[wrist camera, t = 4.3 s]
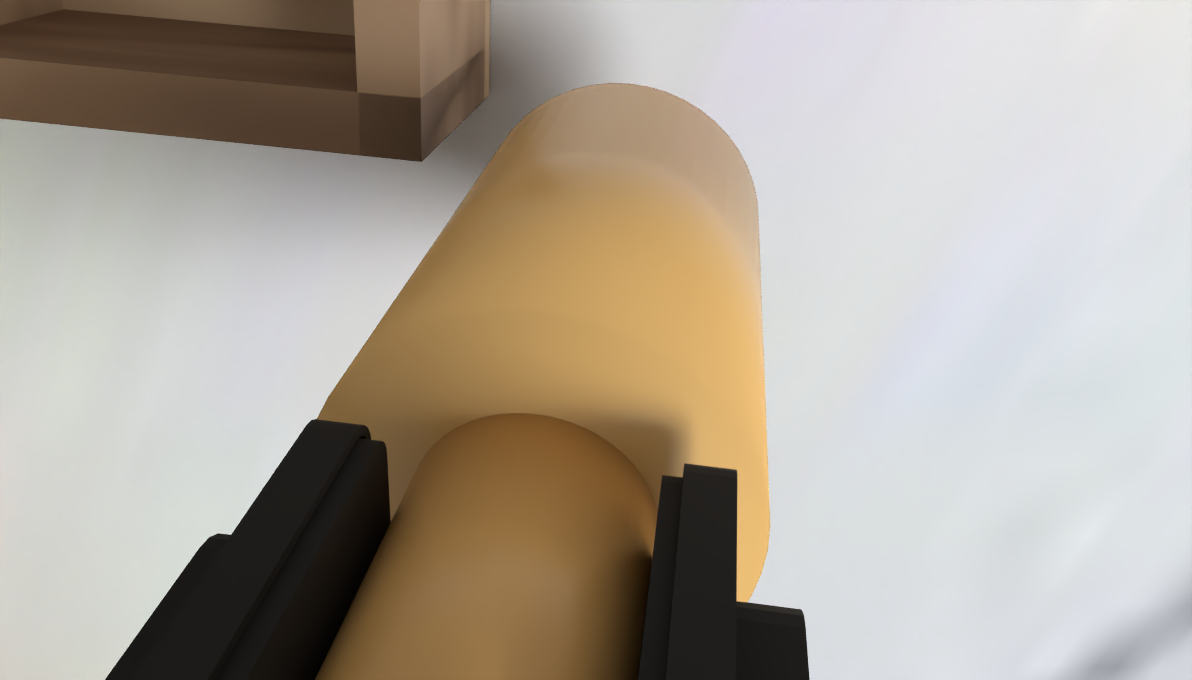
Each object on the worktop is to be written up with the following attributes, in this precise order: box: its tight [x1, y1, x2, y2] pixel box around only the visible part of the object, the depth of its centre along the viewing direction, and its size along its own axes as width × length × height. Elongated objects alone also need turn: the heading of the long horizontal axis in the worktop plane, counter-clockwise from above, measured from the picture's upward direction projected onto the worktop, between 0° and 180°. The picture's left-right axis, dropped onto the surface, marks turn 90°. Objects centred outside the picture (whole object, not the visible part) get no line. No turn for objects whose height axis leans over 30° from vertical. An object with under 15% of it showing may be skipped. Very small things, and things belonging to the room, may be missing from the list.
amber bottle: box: [315, 83, 770, 680], centre depth 13 cm, size 5×5×15 cm
